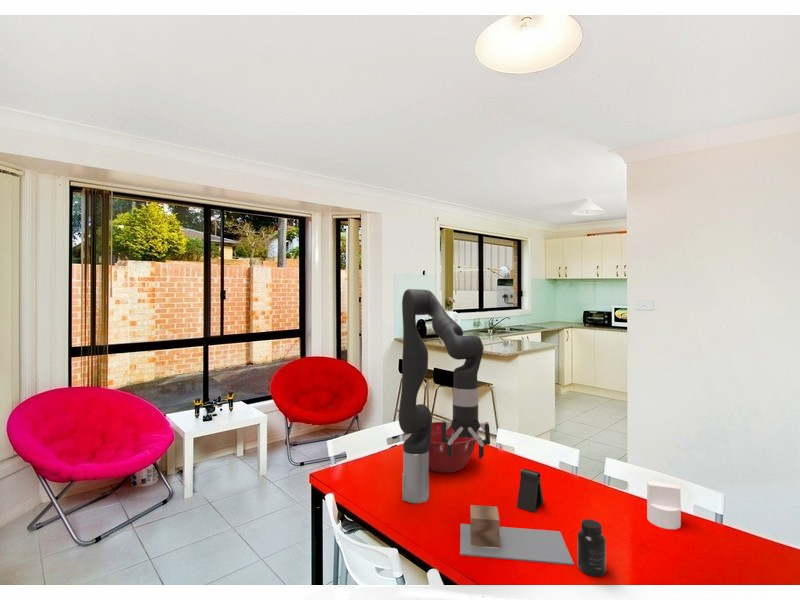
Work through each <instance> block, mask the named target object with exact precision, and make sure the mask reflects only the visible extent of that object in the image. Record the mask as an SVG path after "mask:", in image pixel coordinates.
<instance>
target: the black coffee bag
mask: <svg viewBox="0 0 800 600" xmlns="http://www.w3.org/2000/svg"><path fill="white" fill-rule="evenodd" d="M519 475H520V476H519V477H520V478H519V486H518V487H519V488H518V495H517V502H516V508H518V509H521V510H524V511H526V512H527V511H528V512H530V513H533V514H534V513H536V512H537V510H538V509H539V508H540V507H541V506H542V505H543V504H544V503H545V501H544V494H543V490H542V483H541V473H540V472H538V471H534V470H531V469H527V468H521V469H520V473H519Z"/></svg>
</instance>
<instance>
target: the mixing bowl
mask: <svg viewBox="0 0 800 600" xmlns="http://www.w3.org/2000/svg"><path fill="white" fill-rule="evenodd" d="M442 423H443V421H432V428H431V442H430V445H429V470H431V471H434V472H436V471H437V473H445V474H447V473H450V472H451V473H456V472H459V471H461V470H463V468H465V467H466V466H467V464H468V463H469V461H470V458H471V457H472V455H473V454H474V453H473V452H474V450H475V447H476V444H477V441H476V440H475V438H474V437H471V438H467V437H464V438H460V437H459V436H458V437H457V438H456V439H455V440H454V441H453V443H452V457H450V455H448V451H447V444H446V443H443V442H442V441H441V438H442ZM478 431H479V430H478ZM478 431H477V433H478V434H479V432H478ZM453 432H454V430H453V428H452V427H451V426H450V427H449V429H446V438H449V437H450V436H451V435H452V433H453ZM411 434H412V433H410V435H411Z"/></svg>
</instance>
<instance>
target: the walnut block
mask: <svg viewBox="0 0 800 600" xmlns="http://www.w3.org/2000/svg"><path fill="white" fill-rule="evenodd" d="M469 506H470V508H469V510H470V513H469V515H470V517H469V518H470V535H471V546H473V547H485V548H496V549H500V536H499V527H500V515H499V511H498V506H494V505H493V506H491V505H476V504H475V505H474V504H470V505H469Z"/></svg>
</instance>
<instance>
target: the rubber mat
mask: <svg viewBox="0 0 800 600" xmlns="http://www.w3.org/2000/svg"><path fill="white" fill-rule="evenodd" d="M459 530H460V535H459V537H460V538H459V539H460V540H459V543H460V544H459V545H460V547H459V548H460V549H459V555H460V556H465V557H466V556H467V557H477V558H491V559H503V560H513V561H522V562H523V561H525V562H533V563H535V562H536V563H543V564H544V563H545V564H546V563H547V564H554V565H555V564H556V565H567V566H568V565H569V566H575V562H574V561H573V558H572V557H571V554H570V552H569V549H568V547H567V545H566V542H565V540H564V537H563V535H562V533H561V531H559V530H558V531H557V530H546V529H534V528H533V529H532V528H523V527H522V528H521V527H520V528H519V527H509V526H499V536H500V549H496V548H485V547H473V546H471V535H470V524H468V523H460V529H459Z"/></svg>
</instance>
